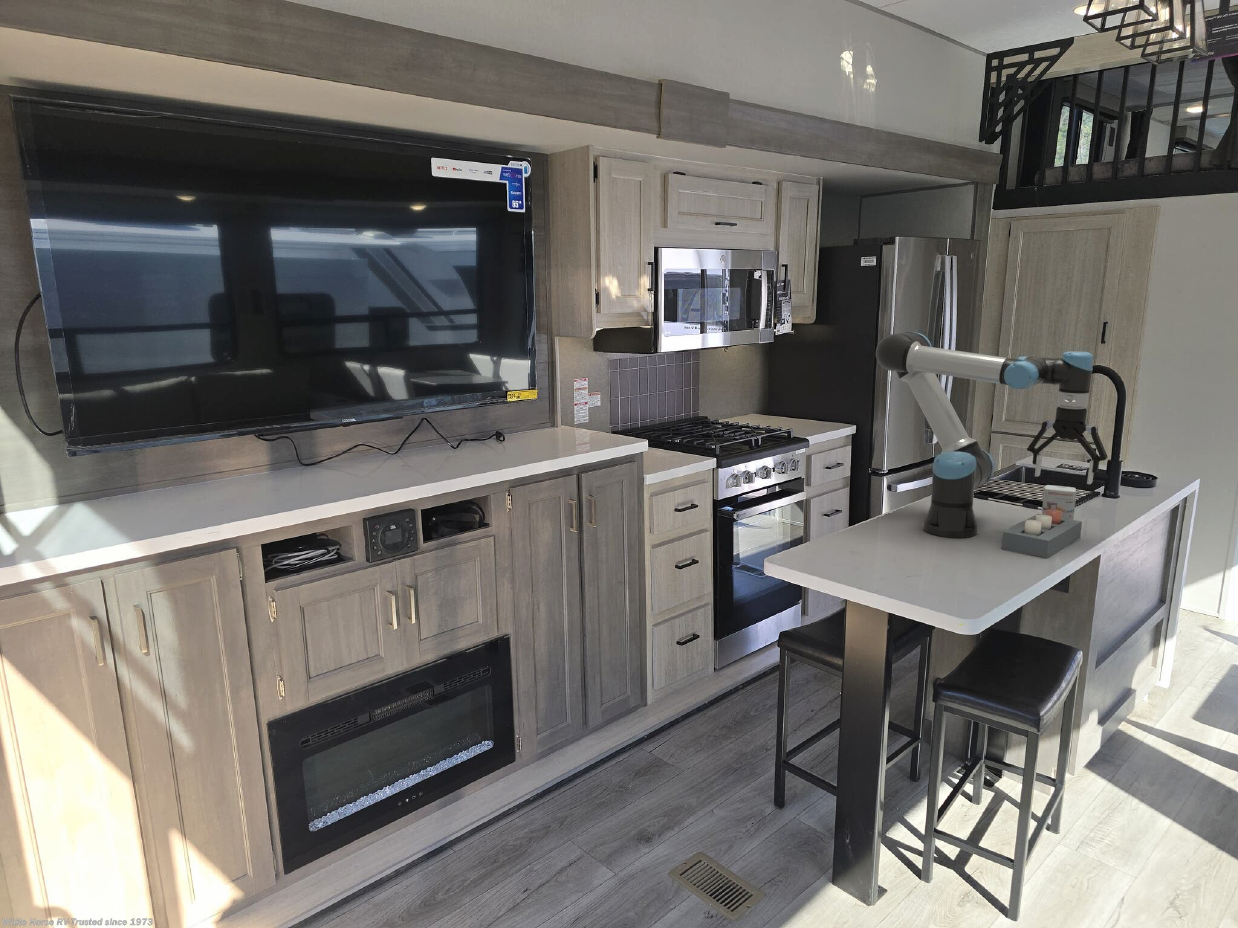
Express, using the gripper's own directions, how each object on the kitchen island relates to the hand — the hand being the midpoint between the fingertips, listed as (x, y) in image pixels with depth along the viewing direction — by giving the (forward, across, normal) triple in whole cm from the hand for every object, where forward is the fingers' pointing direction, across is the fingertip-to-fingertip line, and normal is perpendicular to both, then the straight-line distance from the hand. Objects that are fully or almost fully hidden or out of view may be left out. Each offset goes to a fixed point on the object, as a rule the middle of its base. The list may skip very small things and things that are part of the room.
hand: (1062, 479), depth 227 cm
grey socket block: (+17, -1, -10) cm, 20 cm away
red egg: (+14, -1, -2) cm, 14 cm away
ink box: (+17, -3, +12) cm, 22 cm away
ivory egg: (+14, -2, -17) cm, 22 cm away
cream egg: (+14, -1, -10) cm, 17 cm away
